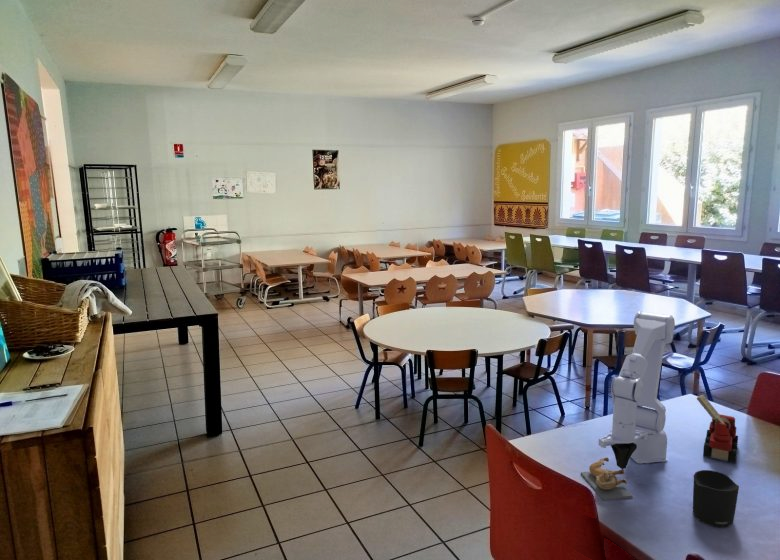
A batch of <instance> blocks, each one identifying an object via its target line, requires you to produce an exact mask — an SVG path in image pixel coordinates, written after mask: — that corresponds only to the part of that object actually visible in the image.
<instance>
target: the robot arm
mask: <svg viewBox="0 0 780 560" xmlns="http://www.w3.org/2000/svg"><path fill="white" fill-rule="evenodd" d="M675 321H676V320H675V318H674V316H673V315H668V314H658V313H652V312H645V311H640V310H639V311H637V312H636V314H635V316H634V318H633V329H634V334H635V335H636V337H635V341H634V346H633V348H632V352H631V354H628V355H626V356H625V359H624V361H623V364H622V367H621V369H620V371H619V373H618V376H614V377H613V380H612V382H611V387H610V394H611V402H612V403H613V407H612V408H613V410H612V411H613V412H612V425H611V426H612V427H611V429H610V433H608V434H605V436H602V437H599V438H598V446H599V447H601V448H603V449H607V447H609V446H610V447H611V449H612V451H613V454H614V457H615V463H616V466H617V467H619V468H620V470H622V469H623V470H624V469H626V468H627V466H628V463H629V461H630V459H632V460H633V461H634V462H635V463H637V464H649V463H651V464H652V463H660V462H661V463H663V462H668V458H667V448H668V438H667V437H668V435H667V433H666V432H665V430H664V429H665V426H666V419H667V417H666V406H665V405H664V404H663V403H662V402H661V401H660V400H659V399H658V390H659V385H660V384H659V383H660V377H661V372H662V371H661V369H662V365H663V364H662V363H663V358H664V356H663V355H664V351H665V348H666V347H665V346H666V345H667V344H672V341H673V339H674V335H675V334H674V333H675V327H676V326H675V325H676V324H675V323H676V322H675Z"/></svg>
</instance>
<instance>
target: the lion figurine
mask: <svg viewBox="0 0 780 560" xmlns="http://www.w3.org/2000/svg"><path fill="white" fill-rule="evenodd" d="M605 462H606V463H608V462H609V457H604V458H600V459H599V460H598V461H596V462H593V463H591V464H590V465H589V469H588V470H589V471H590V472H591V474H592V475H593V476H595V477H596V484H597V486H598V487H600V488H601V489H604V490H606V489H613V488H615V486H617V485H618V484H622V483H623V484H624V485H626V484H628V481H627V479H626V478H622V479H618V477H617V476H619V475H624V474H625V473H626V472H625V470H624V469H619V470H611V469H607V468H606V469H604V468H602V466H605Z"/></svg>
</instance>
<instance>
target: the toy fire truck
mask: <svg viewBox="0 0 780 560" xmlns="http://www.w3.org/2000/svg"><path fill="white" fill-rule="evenodd" d="M696 400H697V402H698V403H699V404H700V405H701V406H702V408H704V410H705V411H706V413H708V415H709V416H710V418H711V421H710V422H709V427H708V429H707V430H706V436H705V439H704V444H703V450H702V451H703V452H702V456H703V457H707V458H709V459H711V458H712V459H716V460H720V461H726V462H729V463H733V464H736V463H737V455H738V454H737V453H738V445H739V444H738V443H739V435H737V426H736V418H735V417H734V416H732V415H731V416H730V415H724V414H720V413H719V412H718V411H717V410H716V409H715V407H714V406H713V405H712V404H711V402H710V401H709V400H708V398H706V396H705V395H704V394H700V395H699V396H698V397H696Z"/></svg>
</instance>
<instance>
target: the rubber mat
mask: <svg viewBox="0 0 780 560" xmlns="http://www.w3.org/2000/svg"><path fill="white" fill-rule="evenodd" d="M580 475H581V476H582V477H583V479H584V480H585V481H586V482H587V484H589V485H590V487H591V488H592V489H593V490H594V491H595V492H596V494H598V496H599V497H600V498H601V499H602V500H603V501H612V500H623V499H632V498H633V494H632V493H631V492H630V491H629V490H628V489H626V487H625V486H624V485H623V484H622V483H621V484H618V485H617V486H615V488H613V489H606V490H604V489H601V488H600V487H598V486H597V484H596V477H595V476H593V475H592V474H591V472H590V470H589V471H581V472H580Z"/></svg>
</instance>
